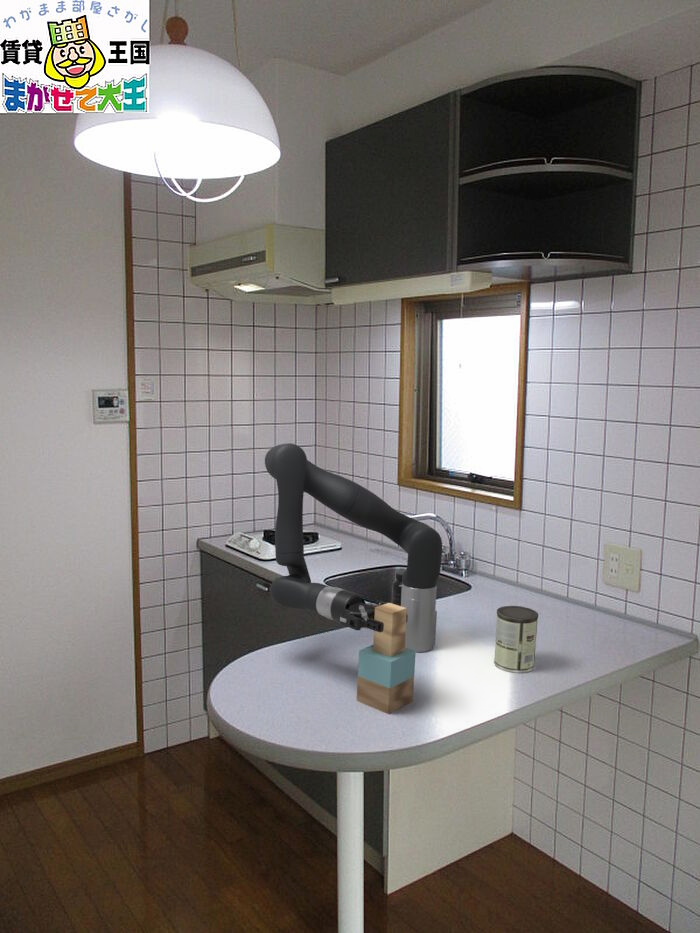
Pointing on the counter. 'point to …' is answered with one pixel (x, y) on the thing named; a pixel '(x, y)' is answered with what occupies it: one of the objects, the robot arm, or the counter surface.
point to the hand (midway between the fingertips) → (394, 623)
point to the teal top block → (386, 666)
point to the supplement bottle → (397, 588)
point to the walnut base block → (384, 694)
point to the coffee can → (515, 639)
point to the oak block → (390, 629)
